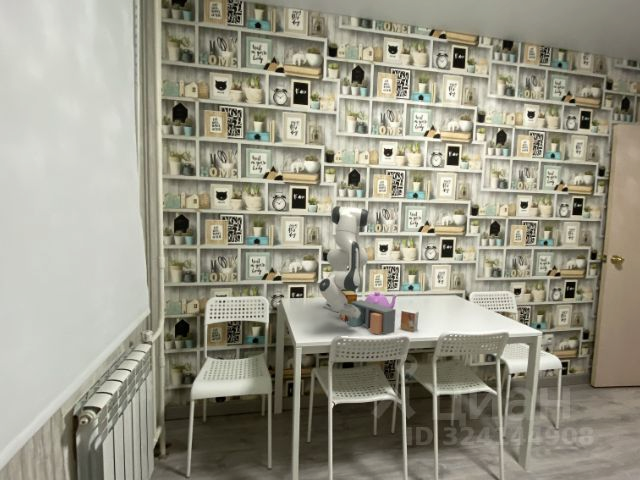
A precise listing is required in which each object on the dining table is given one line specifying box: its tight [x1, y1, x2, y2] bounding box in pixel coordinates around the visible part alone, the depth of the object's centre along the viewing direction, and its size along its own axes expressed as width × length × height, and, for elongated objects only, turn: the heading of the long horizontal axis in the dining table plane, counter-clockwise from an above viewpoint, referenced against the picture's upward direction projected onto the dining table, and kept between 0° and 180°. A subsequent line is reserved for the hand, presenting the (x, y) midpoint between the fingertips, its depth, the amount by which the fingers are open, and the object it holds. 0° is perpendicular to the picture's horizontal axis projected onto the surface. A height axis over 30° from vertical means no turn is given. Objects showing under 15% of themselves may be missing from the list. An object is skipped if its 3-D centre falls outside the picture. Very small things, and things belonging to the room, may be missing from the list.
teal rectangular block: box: [347, 306, 366, 327], centre depth 229 cm, size 9×5×10 cm, turn 132°
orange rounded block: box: [369, 312, 384, 335], centre depth 217 cm, size 9×5×10 cm, turn 132°
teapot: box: [364, 291, 399, 309], centre depth 251 cm, size 22×22×14 cm
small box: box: [399, 308, 420, 333], centre depth 223 cm, size 8×6×10 cm
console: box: [351, 299, 397, 335], centre depth 225 cm, size 8×25×12 cm, turn 42°
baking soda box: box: [339, 291, 358, 322], centre depth 239 cm, size 10×6×16 cm
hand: (350, 316), depth 225 cm, fingers closed, pressing on teal rectangular block
